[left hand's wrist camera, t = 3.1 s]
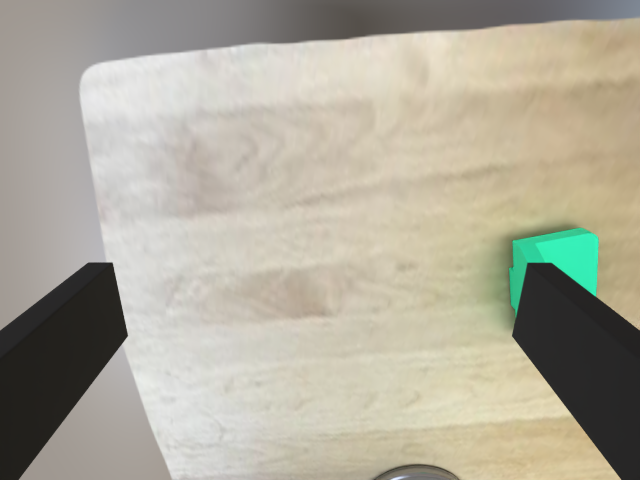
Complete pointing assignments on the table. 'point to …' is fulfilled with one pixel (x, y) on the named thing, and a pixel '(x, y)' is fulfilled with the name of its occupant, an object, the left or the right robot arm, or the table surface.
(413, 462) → the table surface
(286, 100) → the table surface
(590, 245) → the camera mount
